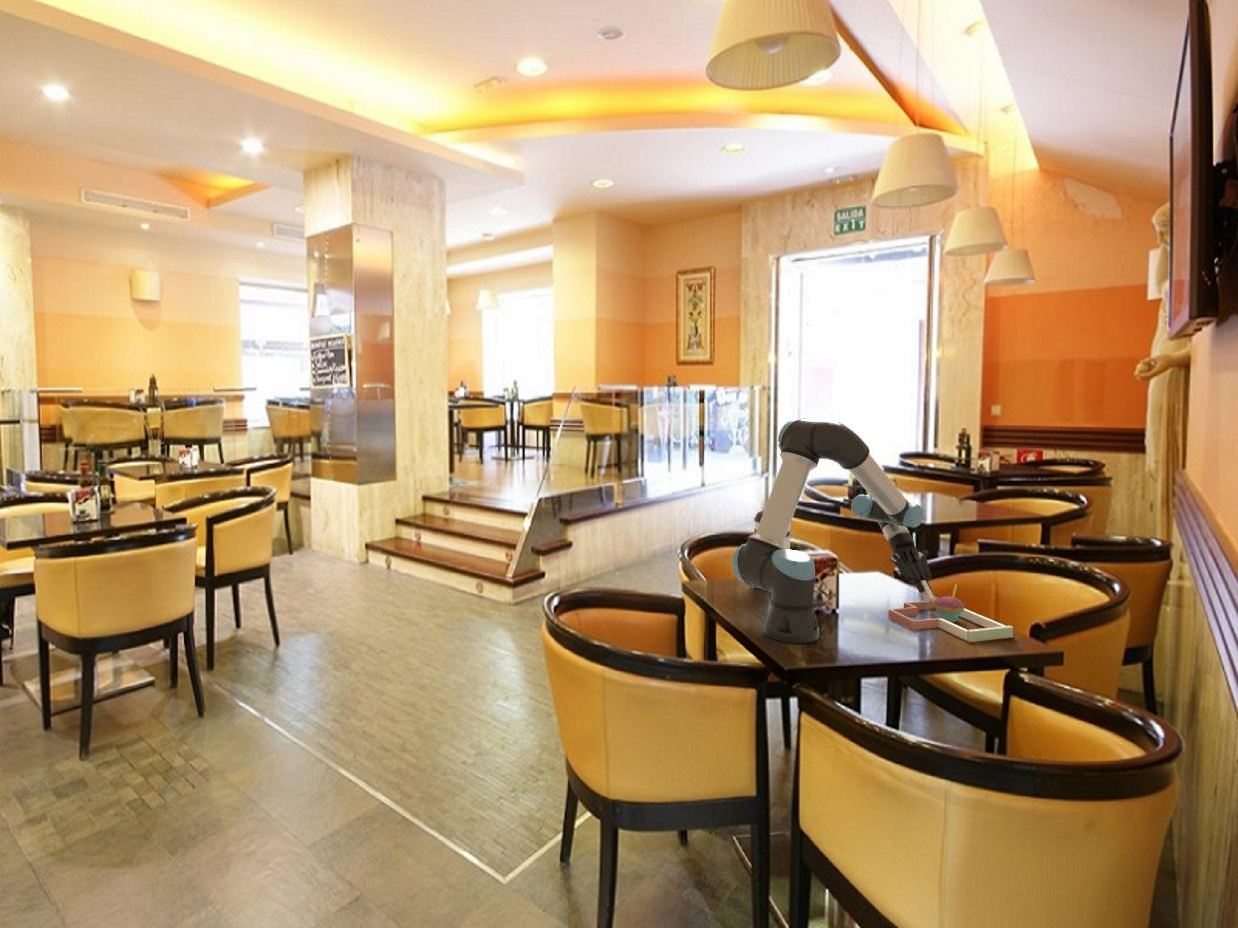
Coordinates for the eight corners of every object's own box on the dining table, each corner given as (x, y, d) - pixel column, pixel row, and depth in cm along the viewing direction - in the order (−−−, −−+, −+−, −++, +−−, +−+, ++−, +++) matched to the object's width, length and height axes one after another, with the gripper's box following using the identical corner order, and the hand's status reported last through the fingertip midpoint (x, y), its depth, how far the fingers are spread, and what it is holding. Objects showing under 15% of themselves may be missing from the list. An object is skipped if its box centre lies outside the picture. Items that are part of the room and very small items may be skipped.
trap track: (942, 644, 189) (943, 634, 188) (879, 612, 216) (879, 603, 215) (1012, 637, 195) (1013, 626, 194) (942, 606, 222) (942, 597, 221)
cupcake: (957, 615, 213) (959, 577, 212) (968, 625, 205) (970, 585, 203) (928, 614, 214) (930, 577, 213) (938, 624, 205) (940, 584, 204)
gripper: (909, 542, 235) (941, 604, 221) (876, 544, 232) (906, 608, 218) (921, 530, 230) (954, 593, 215) (887, 532, 226) (919, 596, 212)
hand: (930, 600), depth 217 cm, fingers closed
